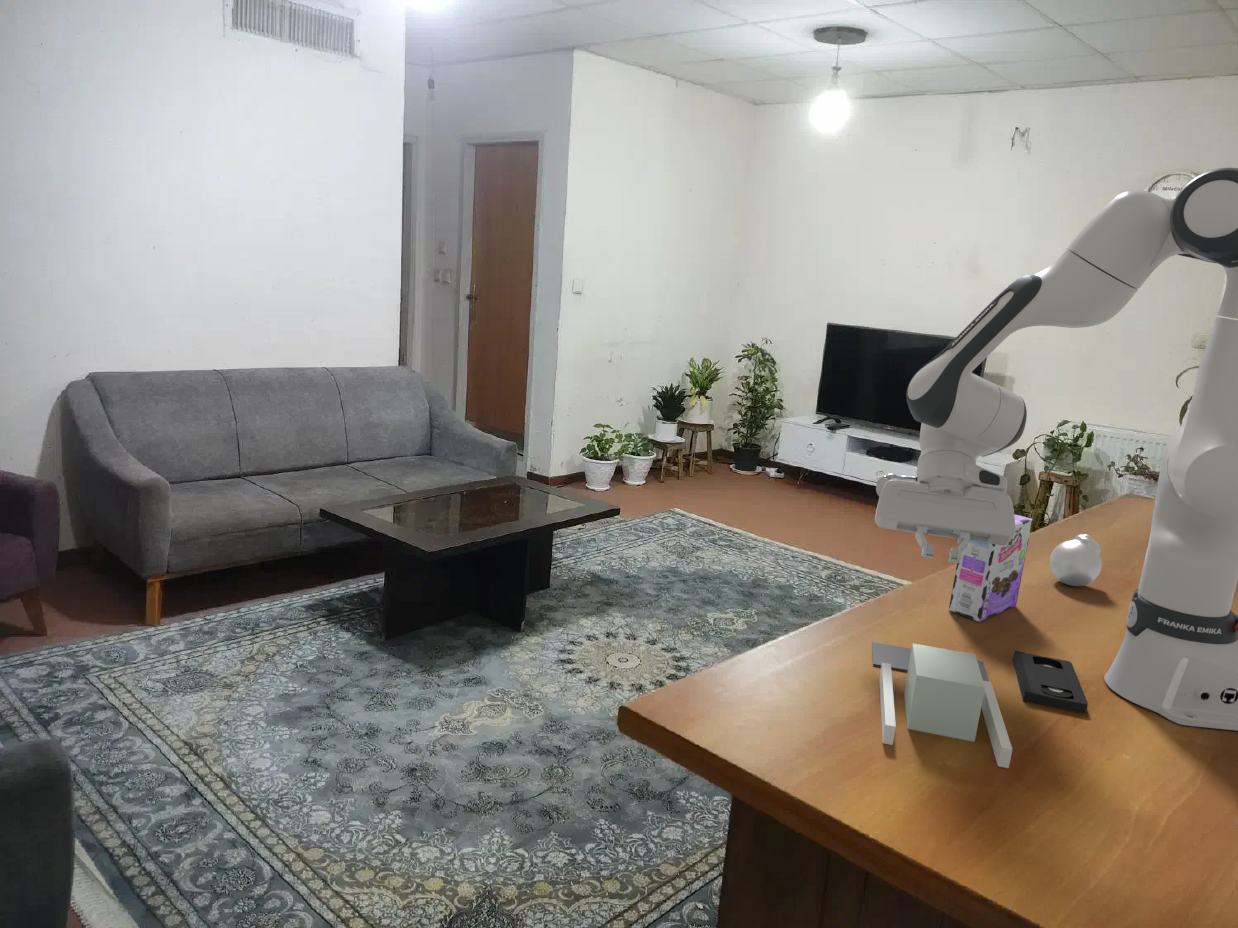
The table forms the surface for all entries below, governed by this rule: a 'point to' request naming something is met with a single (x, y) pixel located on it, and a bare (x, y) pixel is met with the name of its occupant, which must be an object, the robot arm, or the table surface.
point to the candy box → (990, 575)
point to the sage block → (943, 692)
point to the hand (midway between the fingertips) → (941, 558)
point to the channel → (899, 660)
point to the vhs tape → (1049, 682)
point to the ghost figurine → (1076, 561)
